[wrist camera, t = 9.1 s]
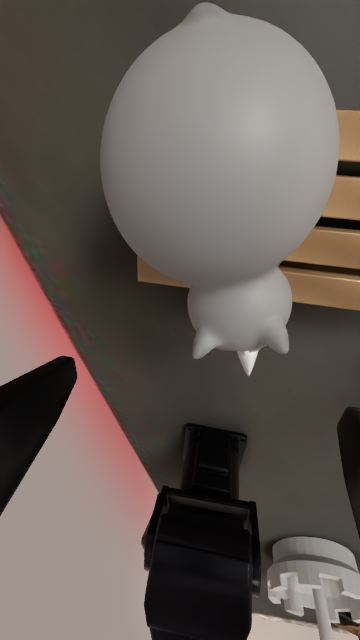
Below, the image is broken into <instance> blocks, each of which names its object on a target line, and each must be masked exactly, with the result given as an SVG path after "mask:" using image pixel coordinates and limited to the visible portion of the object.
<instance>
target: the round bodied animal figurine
mask: <svg viewBox="0 0 360 640" xmlns="http://www.w3.org/2000/svg"><path fill="white" fill-rule="evenodd" d="M338 159H339V124H338V117H337V112H336V107H335V103H334V100H333V97H332V94H331V91H330V88H329V85H328V83H327V81H326V79H325V77H324V75H323V73H322V72H321V70H320V68H319V66H318V65H317V63H316V62H315V60H314V59H313V58H312V57H311V55H310V54H309V53H308V52H307V50H306V49H305V48H304V47H303V46H302V45H301V44H300V43H299V42H297V41H296V40H295V39H294V38H293V37H291V36H290V35H289V34H287V33H286V32H284V31H283V30H281V29H280V28H278V27H276V26H274V25H272V24H270V23H268V22H266V21H262V20H259V19H256V18H252V17H248V16H242V15H235V14H231V13H228V12H226V11H225V10H223V9H222V8H220V7H218V6H217V5H215V4H212V3H207V2H203V3H200V4H198V5H196V6H195V7H194V8H193V9H192V10H191V11H190V12H189V14H188V15H187V17H186V18H185V19H184V20H183V22H182V23H181V24H180V25H178V26H177V27H175V28H174V29H172V30H171V31H169V32H167V33H166V34H164V35H163V36H161V37H160V38H158V39H157V40H156V41H155V42H154V43H153V44H151V45H150V46H149V47H148V48H147V49H146V50H145V51H143V52H142V54H141V55H140V56H139V57H138V58H137V59H136V60H135V62H134V63H133V64H132V66H131V67H130V68H129V70H128V71H127V72H126V74H125V76H124V77H123V79H122V81H121V82H120V84H119V86H118V88H117V90H116V92H115V94H114V96H113V99H112V101H111V104H110V106H109V109H108V113H107V116H106V119H105V123H104V128H103V134H102V140H101V152H100V167H101V179H102V185H103V191H104V194H105V198H106V202H107V205H108V208H109V211H110V213H111V216H112V218H113V220H114V222H115V224H116V226H117V228H118V230H119V232H120V233H121V235H122V236H123V238H124V239H125V241H126V242H127V243H128V245H129V246H130V247H131V248H132V250H133V251H134V252H135V253H136V254H137V255H138V256H139V257H140V258H141V259H142V260H143V261H145V262H146V263H147V264H148V265H150V266H151V267H153V268H154V269H155V270H157V271H159V272H160V273H162V274H164V275H166V276H168V277H170V278H173V279H175V280H179V281H182V282H186V283H189V284H191V286H190V289H189V293H188V313H189V317H190V320H191V322H192V325H193V327H194V328H195V330H196V331H197V332H196V335H195V338H194V341H193V346H192V356H193V358H194V359H199V358H202V357H204V356H205V355H206V354H207V353H208V352H210V351H211V350H212V349H214V348H216V349H219V350H231V351H237V353H238V356H239V359H240V361H241V364H242V366H243V368H244V370H245V372H246V374H247V375H248V376H250V373H251V371H252V369H253V366H254V363H255V360H256V357H257V353H258V351H259V350H260V349H261V348H262V347H265V346H267V345H268V346H269V347H271V348H272V349H274V350H275V351H276V352H278V353H280V354H286V353H287V352H288V351H289V338H288V334H287V330H286V327H285V326H286V324H287V322H288V319H289V317H290V314H291V309H292V292H291V288H290V284H289V282H288V280H287V278H286V277H285V275H284V274H283V272H282V271H281V270H280V269H279V268H278V266H279V264H280V263H281V262H282V261H283V260H285V259H286V258H287V257H288V256H289V255H291V254H292V253H293V252H294V251H295V250H296V249H297V248H298V247H299V246H300V245H301V244H302V243H303V241H304V240H305V239H306V238H307V236H308V235H309V234H310V232H311V231H312V230H313V228H314V226H315V225H316V223H317V222H318V220H319V218H320V217H321V215H322V213H323V211H324V209H325V206H326V204H327V202H328V199H329V197H330V194H331V191H332V188H333V184H334V181H335V177H336V172H337V166H338Z"/></svg>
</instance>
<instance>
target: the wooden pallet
mask: <svg viewBox="0 0 360 640" xmlns="http://www.w3.org/2000/svg"><path fill="white" fill-rule="evenodd" d="M336 112H337V117H338V124H339V159H338V161H350V162H360V111H358V110H337V109H336ZM321 217H329V218H339V219H350V220H360V177H357V176H344V175H336V177H335V181H334V184H333V188H332V191H331V194H330V197H329V199H328V202H327V204H326V206H325V209H324V211H323V213H322V215H321ZM288 261H293V262H288ZM296 262H302V263H296ZM305 263H310V264H305ZM313 264H319V265H313ZM322 265H327V266H322ZM330 266H336V267H330ZM339 267H344V268H339ZM278 268H279V269H280V270H281V271H282V272H283V274H284V275H285V277H286V278H287V280H288V282H289V284H290V288H291V292H292V302H298V303H305V304H313V305H320V306H328V307H335V308H343V309H350V310H358V311H360V270H356V269H360V230H353V229H343V228H333V227H323V226H314V228H313V230H312V231H311V232H310V234H309V235H308V236H307V238H306V239H305V240H304V241H303V243H302V244H301V245H300V246H299V247H298V248H297V249H296V250H295V251H294V252H293V253H292V254H291V255H289V256H288V257H287V258H286V259H285V260H284V261H282V262H281V263H280V264H279V266H278ZM348 268H353V269H348ZM137 269H138V281H141V282H149V283H156V284H164V285H171V286H179V287H186V288H190V286H191V284H189V283H186V282H182V281H179V280H175V279H173V278H170V277H168V276H166V275H164V274H162V273H160V272H159V271H157V270H155V269H154V268H153V267H151V266H150V265H148V264H147V263H146V262H145V261H143V260H142V259H141V258H140V257H139V256H138V255H137Z"/></svg>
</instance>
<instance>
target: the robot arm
mask: <svg viewBox="0 0 360 640" xmlns="http://www.w3.org/2000/svg"><path fill="white" fill-rule="evenodd" d="M76 380H77V371H76V366H75V361H74V359H73V358H72V357H67V356H60V357H58V358H56V359H54V360H52V361H50V362H48V363H46V364H44V365H42V366H40V367H38V368H36V369H34V370H32V371H30V372H28V373H26V374H24V375H22V376H20V377H18V378H16V379H14V380H12V381H10V382H8V383H6V384H4V385H2V386H0V516H1V514H2V512H3V511H4V509H5V507H6V506H7V504H8V502H9V501H10V499H11V497H12V496H13V494H14V492H15V490H16V489H17V487H18V486H19V484H20V482H21V480H22V479H23V477H24V476H25V474H26V472H27V471H28V469H29V467H30V466H31V464H32V462H33V461H34V459H35V457H36V456H37V454H38V453H39V451H40V449H41V447H42V446H43V444H44V443H45V441H46V439H47V438H48V436H49V434H50V433H51V431H52V429H53V427H54V426H55V424H56V422H57V421H58V419H59V417H60V415H61V413H62V410H63V408H64V406H65V404H66V402H67V400H68V398H69V395H70V393H71V391H72V389H73V387H74V385H75V383H76ZM337 434H338V440H339V447H340V454H341V461H342V467H343V474H344V479H345V484H346V488H347V492H348V496H349V500H350V503H351V507H352V511H353V515H354V519H355V522H356V526H357V530H358V534H359V538H360V408H356V407H347V408H346V410H345V411H344V413H343V415H342V417H341V419H340V420H339V422H338V425H337ZM246 444H247V436H246V435H245V434H241V433H235V432H230V431H225V430H220V429H215V428H210V427H205V426H200V425H195V424H187V426H186V431H185V441H184V450H183V460H184V461H185V462H184V468H183V473H182V479H181V484H180V489H176V488H170V487H169V486H165V485H163V488H162V491H161V493H159V494H158V495H157V500H156V504H155V507H154V511H153V514H152V517H151V519H150V521H149V523H148V525H147V528H146V530H145V532H144V534H143V537H142V541H141V542H142V543H141V544H142V546H143V549H144V558H145V559H144V569H145V570H146V571H149V576H148V581H147V587H146V593H145V601H144V608H145V614H146V621H147V626H148V627H150V632H151V637H152V640H247V637H248V635H249V633H250V630H251V624H252V596H254V597H259V594H260V585H261V554H260V541H259V530H258V520H257V509H256V502H254V501H250V502H248V501H242V500H239V466H240V463H241V460H242V456H243V453H244V450H245V447H246Z"/></svg>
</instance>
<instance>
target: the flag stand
mask: <svg viewBox="0 0 360 640" xmlns="http://www.w3.org/2000/svg"><path fill="white" fill-rule="evenodd" d="M273 562H274V563H273V564H272V566H271V567H270V568H269V569H268V571H267V583H268V597H269V599H270V600H271V601H272V602H273V603H275V604H281V602H280V598H282V599H284V606H285V611H287V612H290V613H292V614H295V615H298V616H303V615H304V610H303V606H304V607H307V608H312V609H315V610H316V616H317V622H318V628H319V635H320V640H334V639H333V634H332V628H331V623H340V621H339V616H338V612H350V613H351V617H352V620H353V621H355V622H357V623H360V573H359V572H358V568H357V565H356V561H355V558H354V555H353V553H352V552H351V551H350V550H349V549H347V548H346V547H344V546H342V545H340V544H338V543H336V542H333V541H330V540H326V539H321V538H315V537H289V538H285V539H282V540H279V541H277V542H276V543H275V544H274V546H273Z"/></svg>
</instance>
